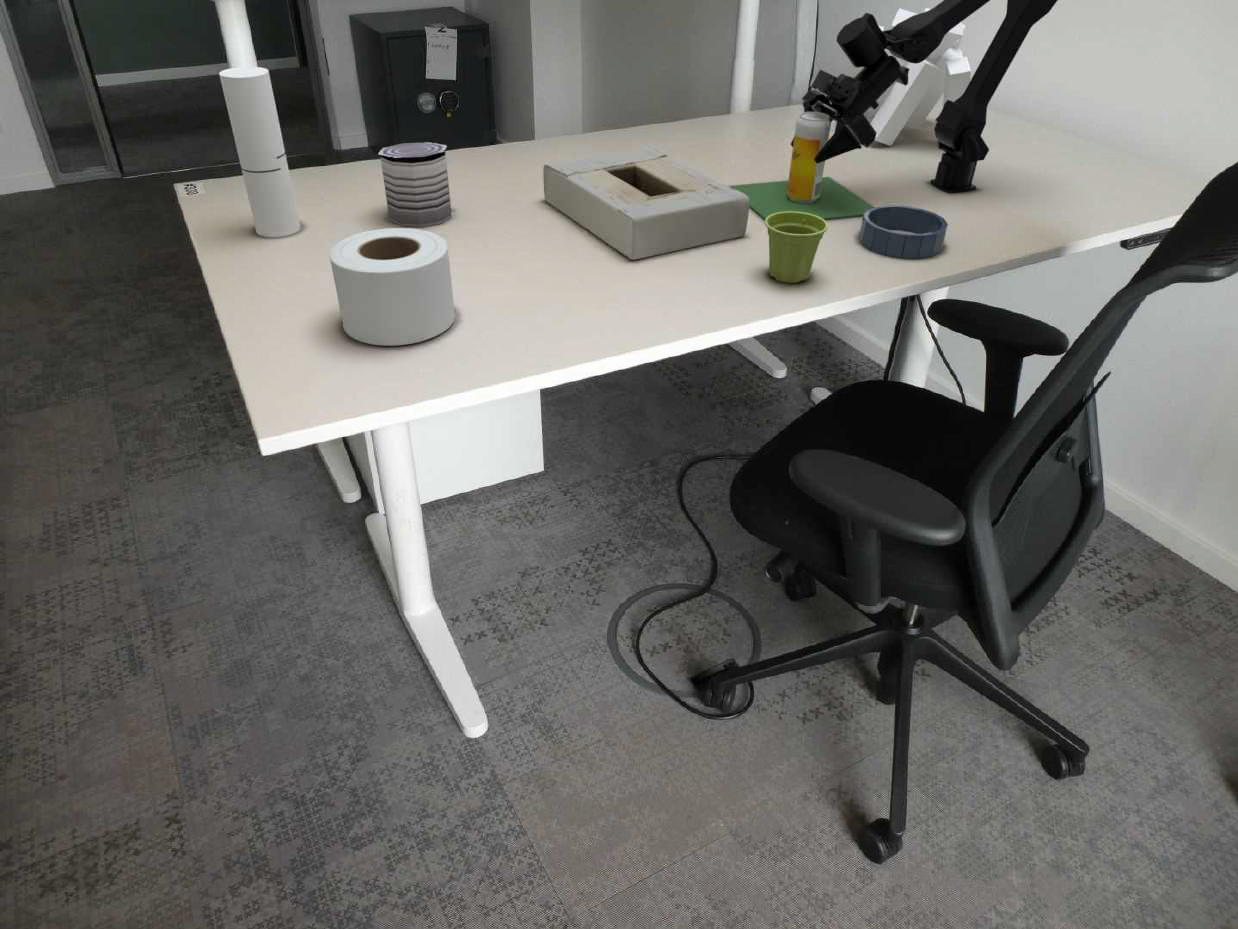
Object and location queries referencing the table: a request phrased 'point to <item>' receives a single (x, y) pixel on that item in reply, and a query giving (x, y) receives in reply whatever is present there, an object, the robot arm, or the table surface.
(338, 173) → the table surface
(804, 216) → the plant pot
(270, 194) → the cylindrical container
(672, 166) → the box
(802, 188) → the beer can
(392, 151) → the can
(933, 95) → the pile of blocks
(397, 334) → the tape roll
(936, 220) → the blue round tray
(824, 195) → the green cloth
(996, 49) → the robot arm
